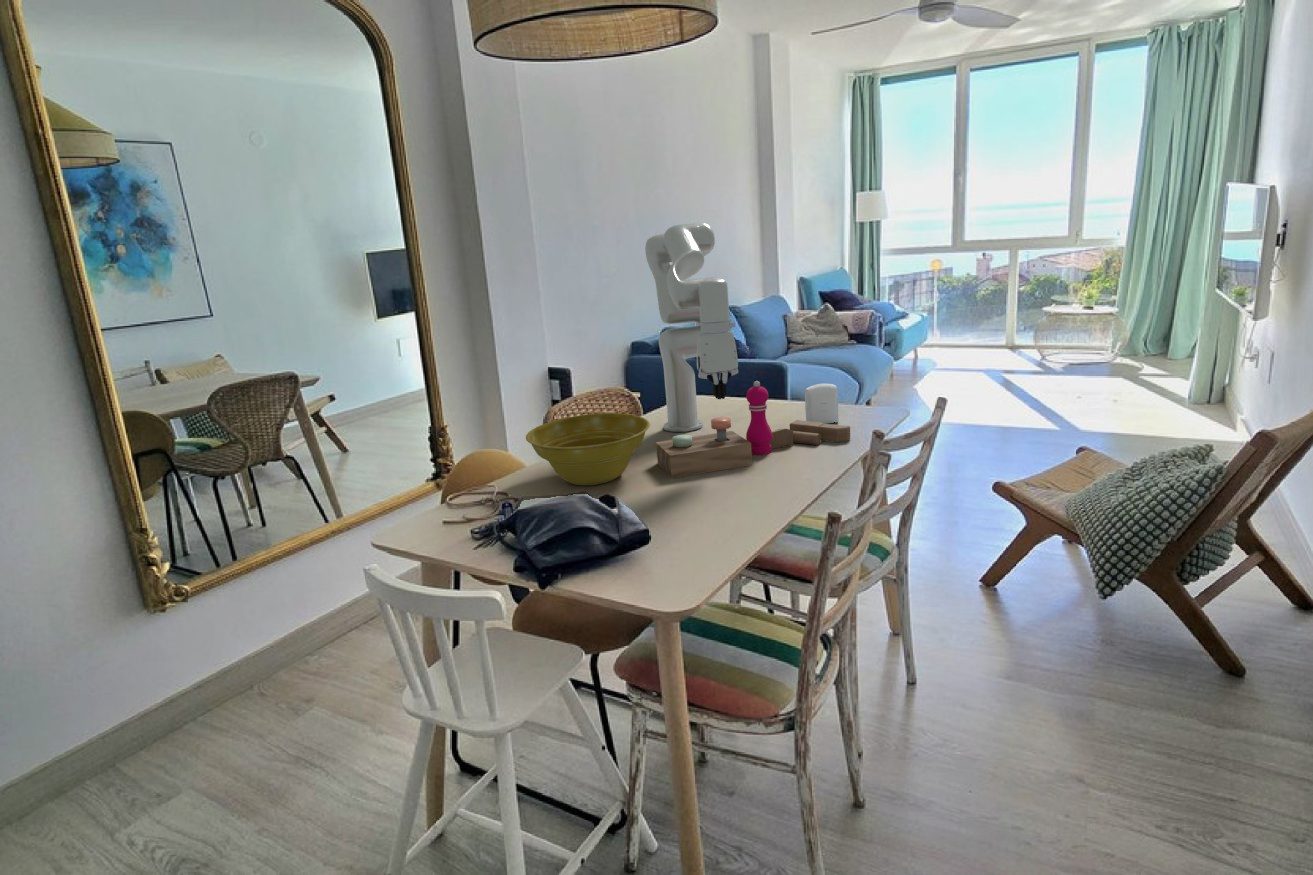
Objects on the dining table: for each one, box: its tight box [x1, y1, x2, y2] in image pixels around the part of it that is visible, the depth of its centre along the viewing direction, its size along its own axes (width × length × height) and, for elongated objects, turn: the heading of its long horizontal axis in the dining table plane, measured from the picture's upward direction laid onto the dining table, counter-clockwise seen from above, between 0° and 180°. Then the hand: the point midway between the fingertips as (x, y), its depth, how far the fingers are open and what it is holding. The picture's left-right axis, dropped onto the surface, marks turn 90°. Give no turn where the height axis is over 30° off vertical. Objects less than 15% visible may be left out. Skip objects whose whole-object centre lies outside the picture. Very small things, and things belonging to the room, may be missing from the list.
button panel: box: [655, 430, 753, 479], centre depth 201 cm, size 14×22×6 cm, turn 105°
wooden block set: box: [769, 419, 851, 449], centre depth 211 cm, size 17×6×18 cm
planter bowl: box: [525, 412, 651, 486], centre depth 197 cm, size 32×32×13 cm
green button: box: [671, 434, 693, 448], centre depth 199 cm, size 5×5×8 cm
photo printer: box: [804, 383, 839, 424], centre depth 230 cm, size 10×4×12 cm, turn 99°
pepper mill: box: [745, 380, 773, 456], centre depth 206 cm, size 7×7×20 cm
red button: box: [710, 416, 732, 442], centre depth 201 cm, size 5×5×8 cm
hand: (720, 398), depth 198 cm, fingers closed
